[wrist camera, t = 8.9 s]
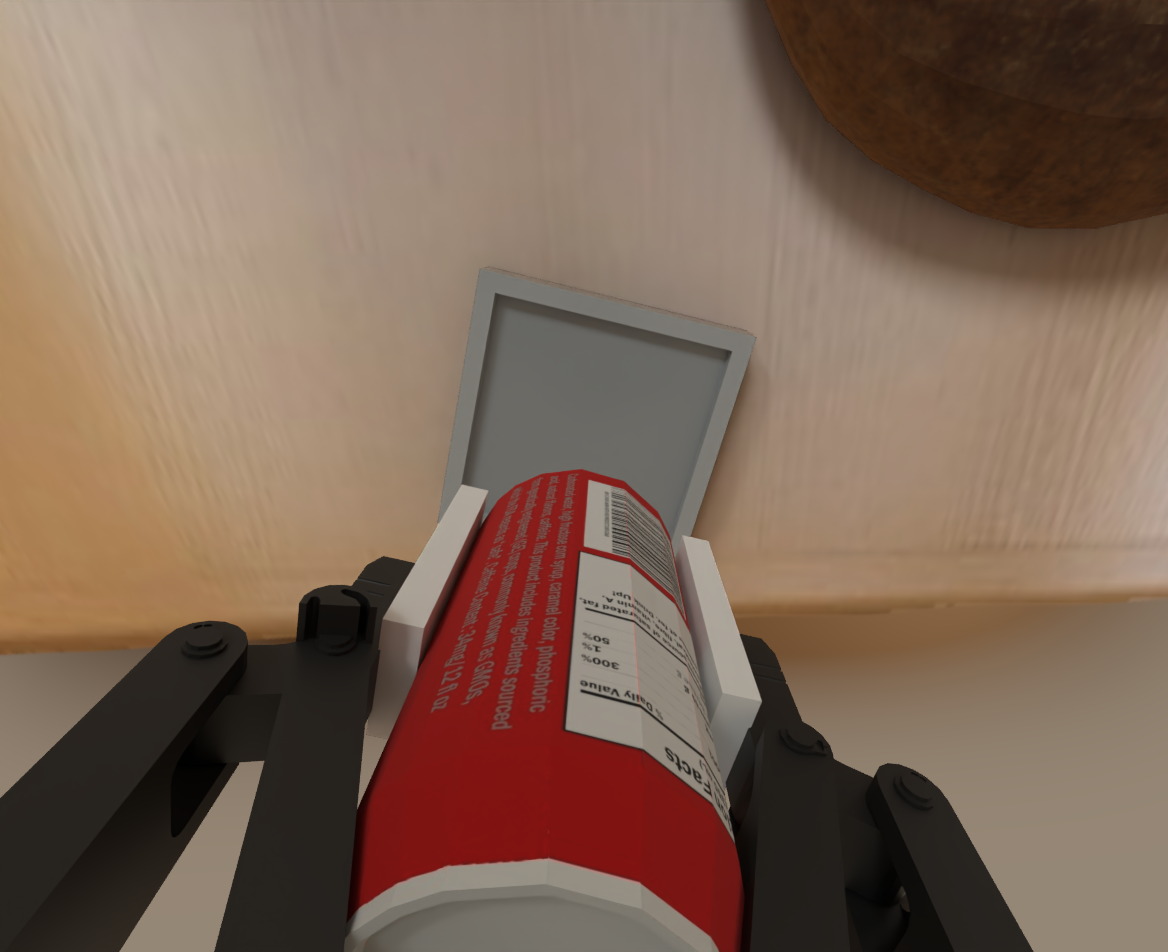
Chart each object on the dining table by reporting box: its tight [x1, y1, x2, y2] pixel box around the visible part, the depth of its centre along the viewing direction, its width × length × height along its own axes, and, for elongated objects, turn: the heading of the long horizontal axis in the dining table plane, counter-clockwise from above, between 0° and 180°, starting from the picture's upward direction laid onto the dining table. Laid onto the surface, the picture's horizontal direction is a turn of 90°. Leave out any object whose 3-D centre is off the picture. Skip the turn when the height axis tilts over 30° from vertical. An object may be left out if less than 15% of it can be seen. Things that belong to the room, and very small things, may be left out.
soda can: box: [344, 469, 745, 952], centre depth 12 cm, size 6×6×12 cm
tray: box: [438, 267, 756, 557], centre depth 29 cm, size 12×12×2 cm
